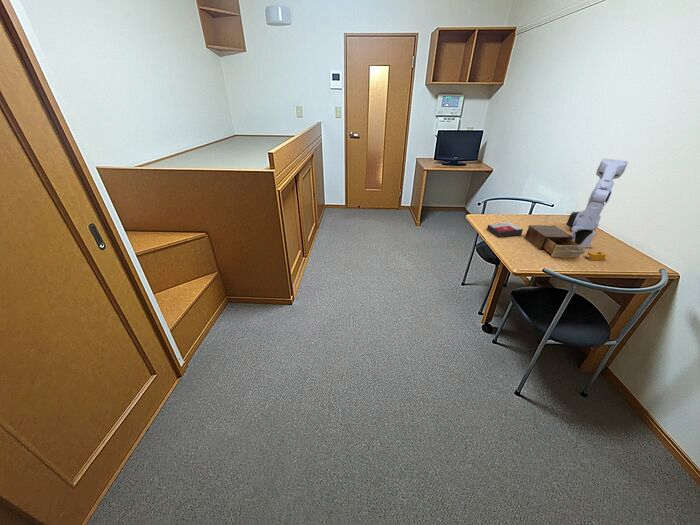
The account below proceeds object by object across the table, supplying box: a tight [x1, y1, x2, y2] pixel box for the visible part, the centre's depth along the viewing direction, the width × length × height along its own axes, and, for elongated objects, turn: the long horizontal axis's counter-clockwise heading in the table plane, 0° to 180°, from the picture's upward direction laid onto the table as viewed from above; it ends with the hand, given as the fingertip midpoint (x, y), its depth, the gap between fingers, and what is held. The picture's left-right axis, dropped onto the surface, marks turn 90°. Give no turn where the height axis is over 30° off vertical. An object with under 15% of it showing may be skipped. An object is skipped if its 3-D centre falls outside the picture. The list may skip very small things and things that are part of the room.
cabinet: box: [524, 224, 573, 251], centre depth 155 cm, size 15×15×8 cm
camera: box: [566, 211, 582, 229], centre depth 172 cm, size 11×11×15 cm
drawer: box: [543, 238, 586, 258], centre depth 145 cm, size 18×13×6 cm
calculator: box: [486, 221, 524, 238], centre depth 167 cm, size 11×4×15 cm
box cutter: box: [584, 251, 607, 261], centre depth 143 cm, size 9×3×3 cm, turn 92°
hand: (577, 243), depth 137 cm, fingers closed
